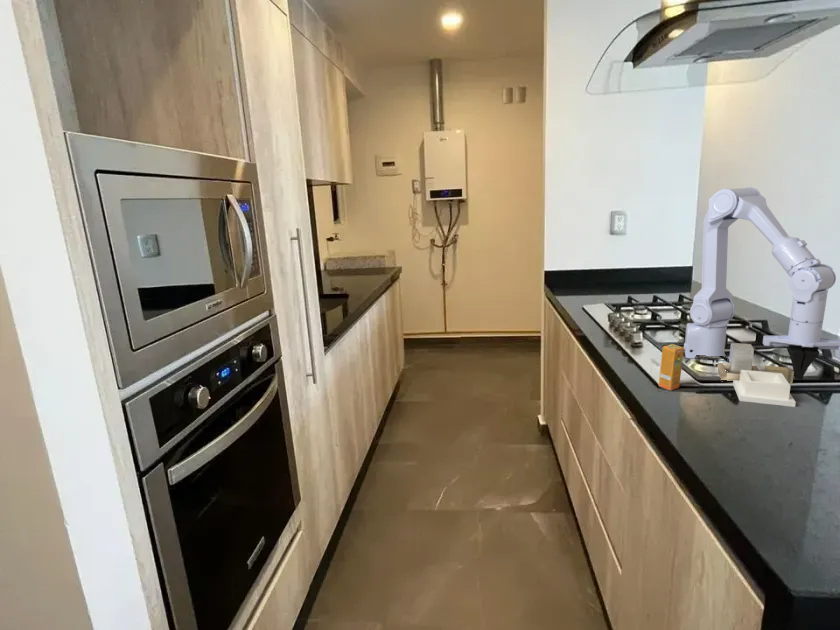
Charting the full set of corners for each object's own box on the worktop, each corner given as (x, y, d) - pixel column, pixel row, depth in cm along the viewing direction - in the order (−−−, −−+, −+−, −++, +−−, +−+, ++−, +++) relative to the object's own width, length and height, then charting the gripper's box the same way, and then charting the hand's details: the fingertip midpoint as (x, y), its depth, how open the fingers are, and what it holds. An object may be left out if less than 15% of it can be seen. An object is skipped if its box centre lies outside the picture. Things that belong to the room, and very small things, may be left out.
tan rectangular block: (765, 381, 111) (767, 369, 110) (763, 377, 113) (765, 365, 113) (792, 383, 109) (794, 371, 108) (789, 380, 111) (791, 367, 110)
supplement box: (671, 391, 109) (674, 349, 107) (658, 386, 112) (661, 345, 110) (681, 388, 110) (684, 346, 108) (667, 383, 113) (670, 343, 111)
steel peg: (729, 379, 114) (733, 347, 112) (727, 374, 117) (730, 342, 115) (750, 381, 112) (754, 349, 110) (747, 375, 115) (750, 344, 113)
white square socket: (739, 401, 102) (741, 383, 101) (732, 384, 111) (734, 367, 110) (795, 407, 98) (797, 388, 97) (783, 389, 107) (786, 372, 106)
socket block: (721, 381, 113) (721, 373, 112) (717, 370, 120) (717, 362, 119) (762, 385, 109) (763, 377, 109) (755, 373, 116) (756, 365, 116)
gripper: (770, 322, 106) (763, 380, 109) (855, 326, 99) (844, 387, 103) (764, 314, 112) (757, 369, 115) (843, 318, 106) (833, 376, 109)
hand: (797, 377), depth 109 cm, fingers closed
